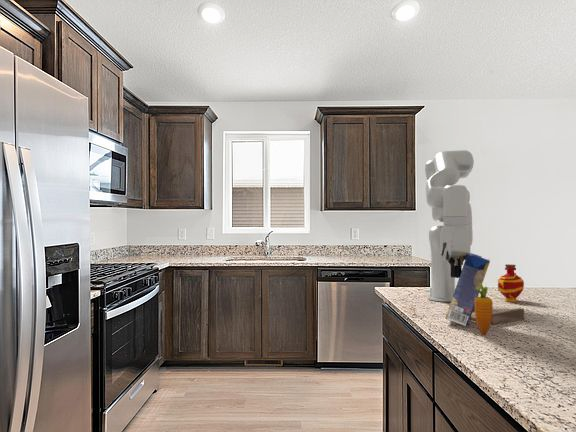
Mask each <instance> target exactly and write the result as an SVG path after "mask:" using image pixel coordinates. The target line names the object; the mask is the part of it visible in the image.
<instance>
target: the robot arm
mask: <svg viewBox="0 0 576 432" xmlns="http://www.w3.org/2000/svg"><path fill="white" fill-rule="evenodd" d="M424 165H425V166H424V172H425V177H426V180H427V182H426V185H425V198H426V203H427V205H428V206H429V208H431V216H432V219H433V221H434V222H436V223H443V225H435V226H433V227H431V228H430V229H429V231H428V241H429V245H430V246H429V247H430V255H431V256H430V258H431V259H430V261H431V263H430V264H431V265H430V266H431V267H430V268H431V287H428V288H427V289H426V290H425V292H427V293H429V295H428V296H427V299H428V300H430V301H435V302H442V303H443V302H445V303H451V300H452V298H453V295H454V292H455V289H456V279H459V277H460V274H461V271H462V268H463V265H464V262H465V260H466V257H467V254H468V253H471V246H472V245H473V237H474V236H473V233H474V232H473V213H472V206H471V204H470V199H471V198H470V197H471V195H470V194H471V193H470V191H469V190H468V188H467V186H465V185H462V184H457V183H458V182H459V181H460V179H464V178H465V179H466V178H467V177H468V176H469V175H470V173H471V172H472V171H473V168H474V157H473V154H472V152H470V151H469V150H463V149H461V150H444V151H441V152H438V153H437V154H436V155H435V157H434V158H433V159H431V160H428V161H427V162H425V164H424Z"/></svg>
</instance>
